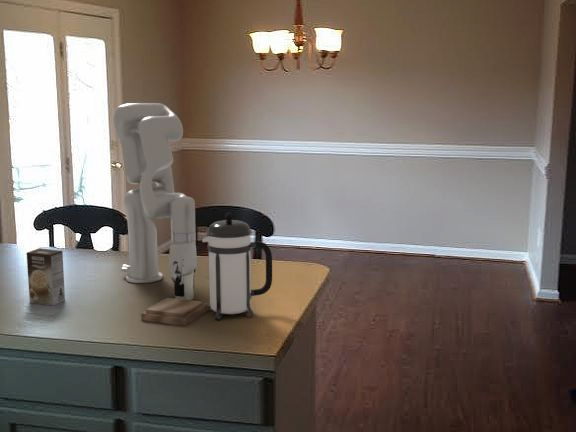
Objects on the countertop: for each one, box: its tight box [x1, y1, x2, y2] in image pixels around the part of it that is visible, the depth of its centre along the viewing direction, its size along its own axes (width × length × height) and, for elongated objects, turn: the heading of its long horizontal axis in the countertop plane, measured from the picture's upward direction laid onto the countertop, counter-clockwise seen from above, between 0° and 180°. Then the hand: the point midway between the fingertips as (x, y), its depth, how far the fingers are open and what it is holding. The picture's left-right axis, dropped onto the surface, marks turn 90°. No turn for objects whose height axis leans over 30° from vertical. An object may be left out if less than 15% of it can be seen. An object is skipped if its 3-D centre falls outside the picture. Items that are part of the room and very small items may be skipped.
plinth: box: [140, 297, 209, 327], centre depth 202 cm, size 14×14×3 cm
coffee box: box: [26, 247, 66, 306], centre depth 214 cm, size 9×6×16 cm
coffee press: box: [202, 212, 273, 321], centre depth 202 cm, size 17×16×30 cm
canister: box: [175, 271, 195, 301], centre depth 217 cm, size 6×6×9 cm
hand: (184, 292), depth 217 cm, fingers closed on canister, 5 cm apart
